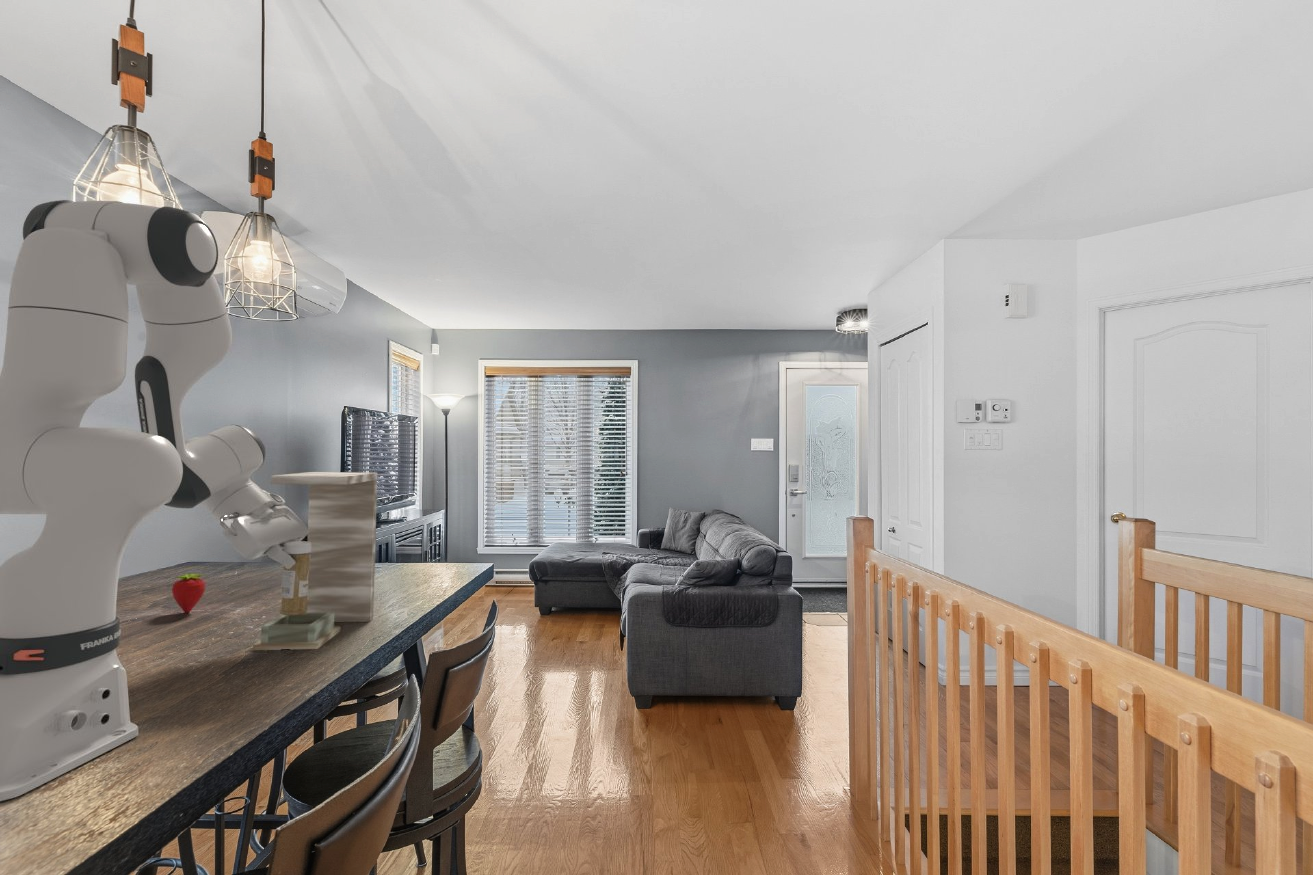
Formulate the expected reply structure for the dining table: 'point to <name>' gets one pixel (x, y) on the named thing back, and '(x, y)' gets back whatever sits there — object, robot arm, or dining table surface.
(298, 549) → the sprinkles bottle
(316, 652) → the dining table surface
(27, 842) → the dining table surface
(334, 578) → the awning socket
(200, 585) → the strawberry
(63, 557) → the robot arm
